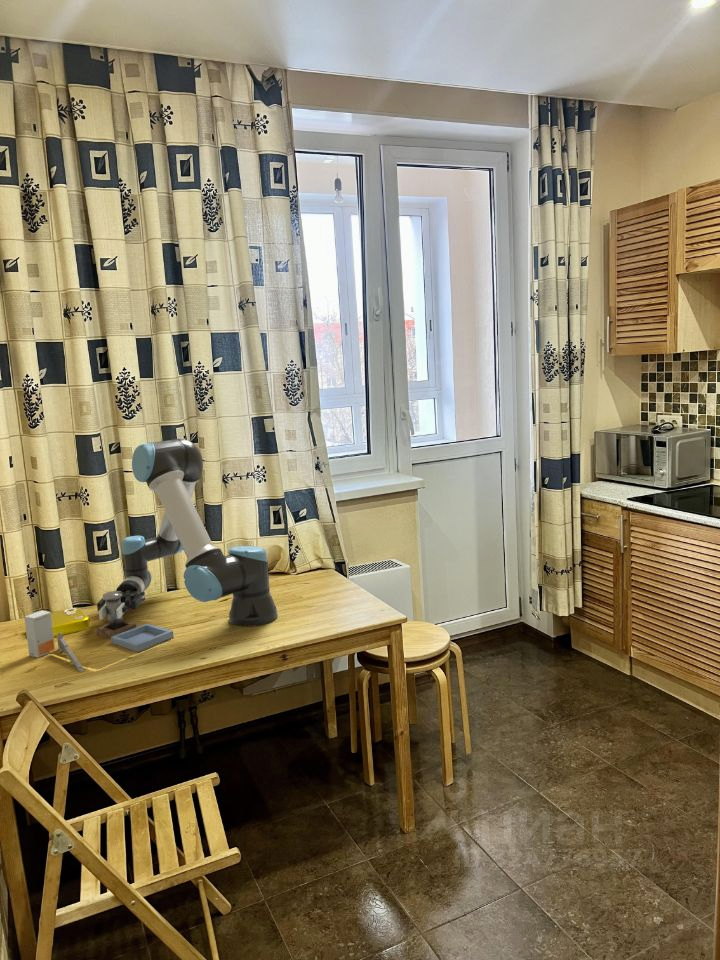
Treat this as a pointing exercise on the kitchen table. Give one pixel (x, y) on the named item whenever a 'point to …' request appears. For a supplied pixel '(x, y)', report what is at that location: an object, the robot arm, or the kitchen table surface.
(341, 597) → the kitchen table surface
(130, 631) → the tray
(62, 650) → the caliper
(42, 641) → the skincare box
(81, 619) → the element tile
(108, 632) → the socket block
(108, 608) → the blue-grey cylinder
